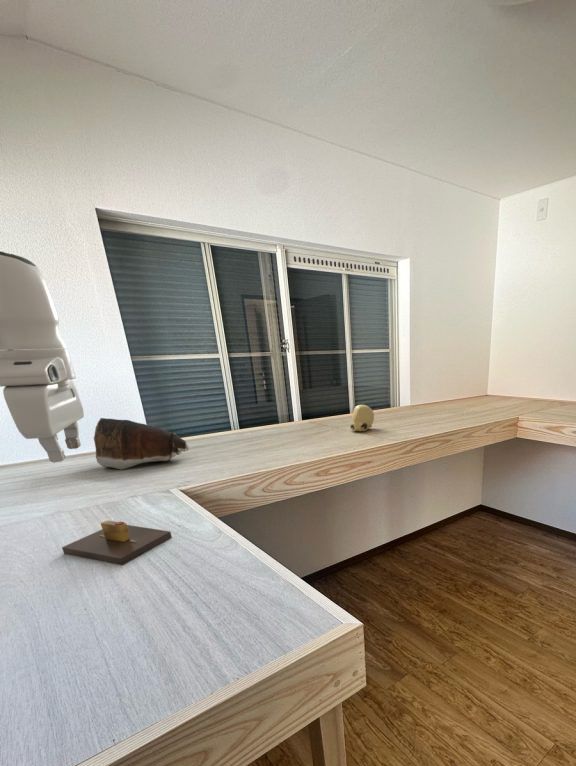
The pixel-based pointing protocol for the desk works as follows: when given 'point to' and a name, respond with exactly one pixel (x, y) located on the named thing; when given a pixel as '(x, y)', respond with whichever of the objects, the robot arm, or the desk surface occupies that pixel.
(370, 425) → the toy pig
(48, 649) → the desk surface
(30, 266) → the robot arm
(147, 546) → the plate
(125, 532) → the lock turn
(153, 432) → the brown tapered piece
